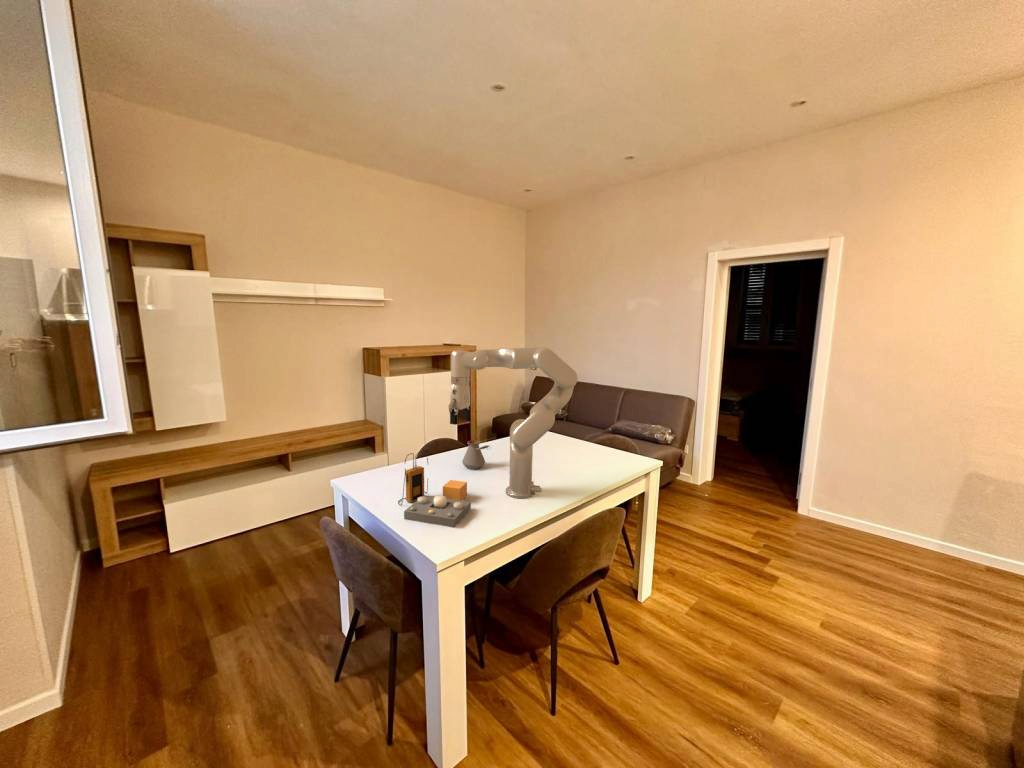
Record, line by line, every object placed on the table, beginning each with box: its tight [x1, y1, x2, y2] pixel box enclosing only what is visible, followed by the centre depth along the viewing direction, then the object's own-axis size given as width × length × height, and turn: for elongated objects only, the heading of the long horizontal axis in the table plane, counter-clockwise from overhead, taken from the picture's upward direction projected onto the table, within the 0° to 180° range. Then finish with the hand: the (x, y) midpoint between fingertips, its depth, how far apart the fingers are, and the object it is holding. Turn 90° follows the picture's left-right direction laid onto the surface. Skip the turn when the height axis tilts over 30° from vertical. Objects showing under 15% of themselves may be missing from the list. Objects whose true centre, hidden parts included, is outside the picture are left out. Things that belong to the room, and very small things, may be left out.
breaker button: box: [434, 495, 447, 509], centre depth 153 cm, size 5×5×3 cm
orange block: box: [442, 479, 468, 501], centre depth 166 cm, size 7×7×6 cm
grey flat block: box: [403, 494, 472, 528], centre depth 151 cm, size 20×15×4 cm
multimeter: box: [397, 450, 429, 506], centre depth 165 cm, size 15×10×20 cm
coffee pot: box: [461, 439, 492, 470], centre depth 198 cm, size 21×12×15 cm, turn 33°
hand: (459, 421), depth 167 cm, fingers open, 9 cm apart
